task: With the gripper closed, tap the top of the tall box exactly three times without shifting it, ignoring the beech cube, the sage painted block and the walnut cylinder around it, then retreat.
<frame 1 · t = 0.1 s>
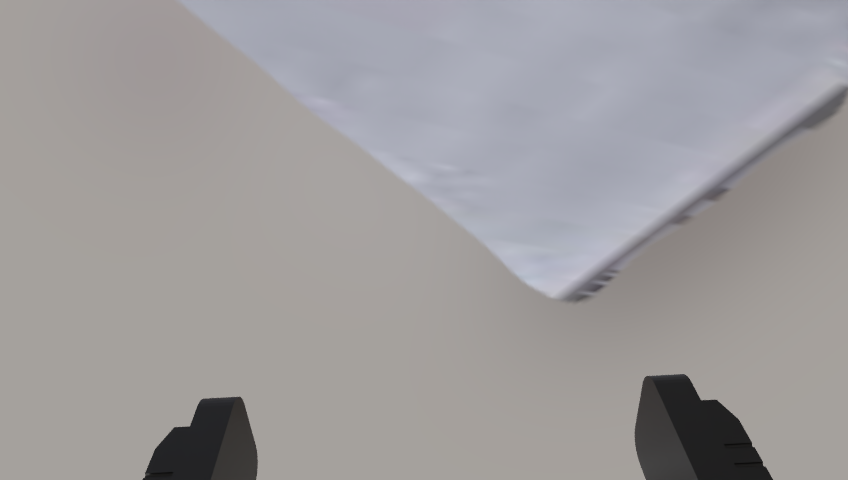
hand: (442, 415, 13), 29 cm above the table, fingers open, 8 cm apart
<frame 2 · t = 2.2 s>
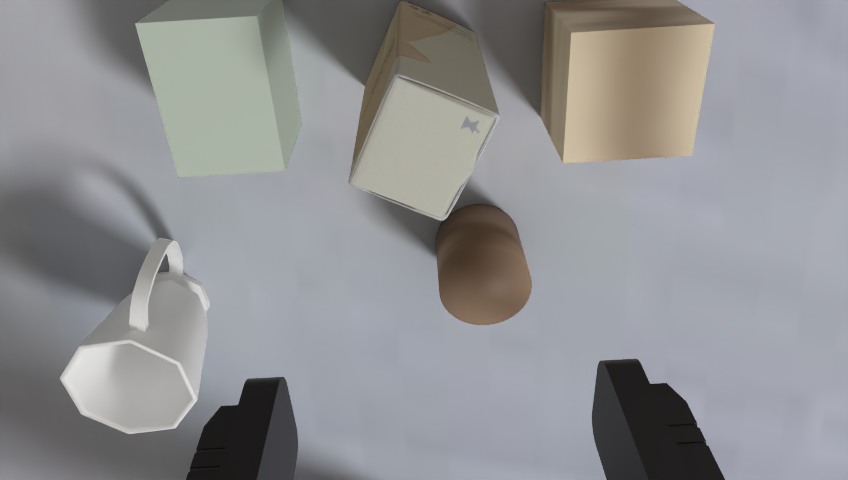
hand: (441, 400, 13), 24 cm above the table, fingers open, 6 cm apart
sage block: (243, 61, 34), on the table
box: (418, 61, 34), on the table
cup: (177, 277, 41), on the table
beech cube: (600, 58, 34), on the table
walnut cylinder: (476, 240, 39), on the table
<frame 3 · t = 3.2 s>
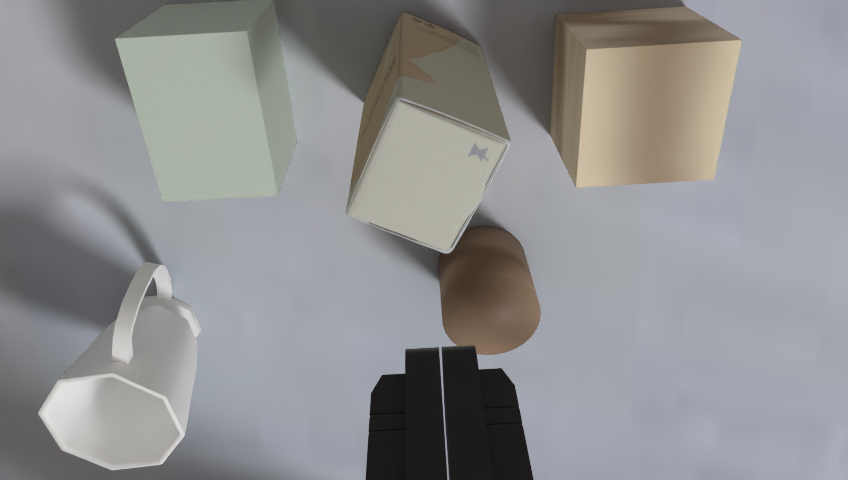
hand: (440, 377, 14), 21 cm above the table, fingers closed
sage block: (235, 76, 31), on the table
box: (421, 77, 32), on the table
cup: (165, 301, 39), on the table
beech cube: (613, 73, 32), on the table
walnut cylinder: (481, 263, 37), on the table
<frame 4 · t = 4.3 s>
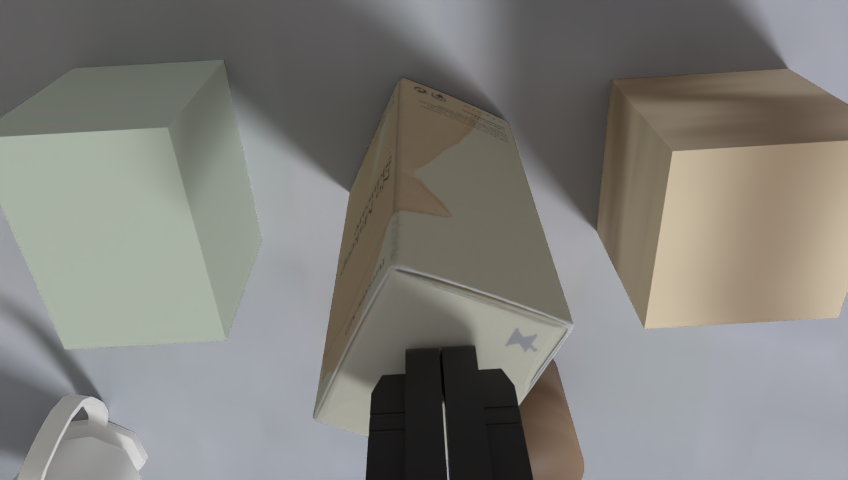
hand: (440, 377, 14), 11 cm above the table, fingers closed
sage block: (175, 160, 23), on the table
box: (426, 159, 24), on the table, touching gripper
cup: (101, 425, 30), on the table
beech cube: (685, 154, 24), on the table
walnut cylinder: (502, 381, 29), on the table
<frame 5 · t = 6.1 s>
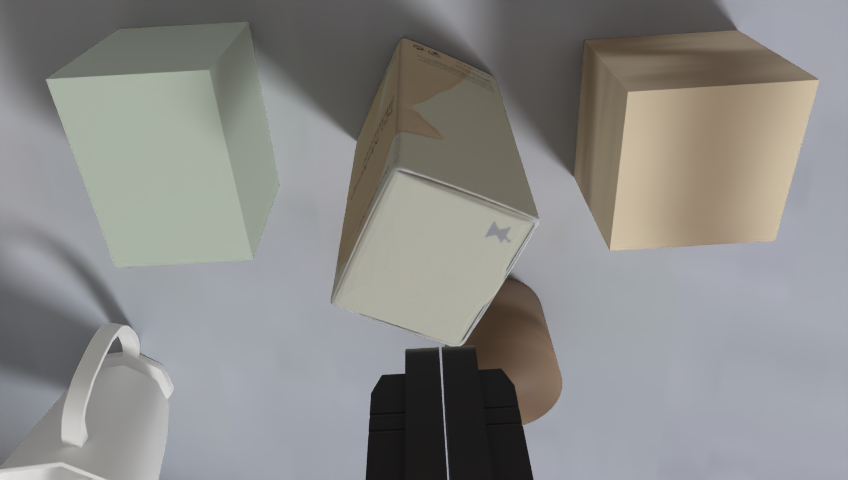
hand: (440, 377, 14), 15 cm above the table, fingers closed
sage block: (205, 111, 27), on the table
box: (424, 111, 27), on the table
cup: (133, 358, 34), on the table
beech cube: (650, 107, 27), on the table
walnut cylinder: (492, 316, 33), on the table
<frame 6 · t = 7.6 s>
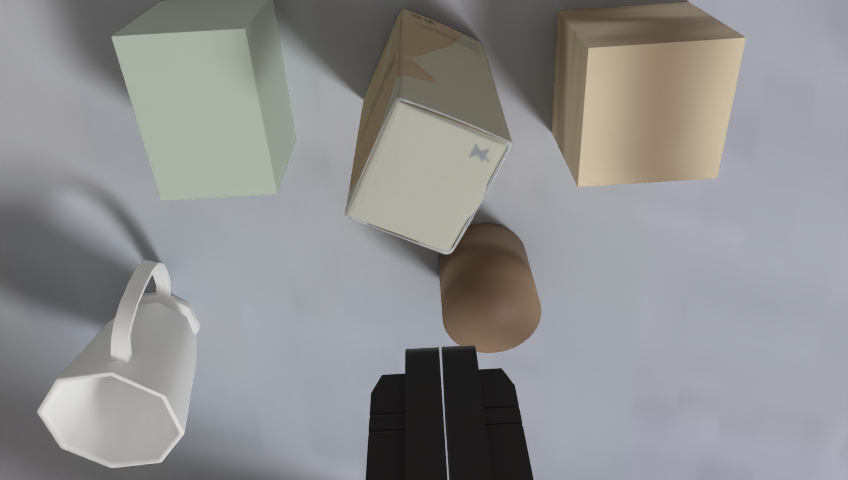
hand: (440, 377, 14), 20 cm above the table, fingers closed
sage block: (233, 73, 31), on the table
box: (421, 73, 31), on the table
cup: (164, 298, 38), on the table
beech cube: (616, 70, 32), on the table
walnut cylinder: (482, 260, 37), on the table
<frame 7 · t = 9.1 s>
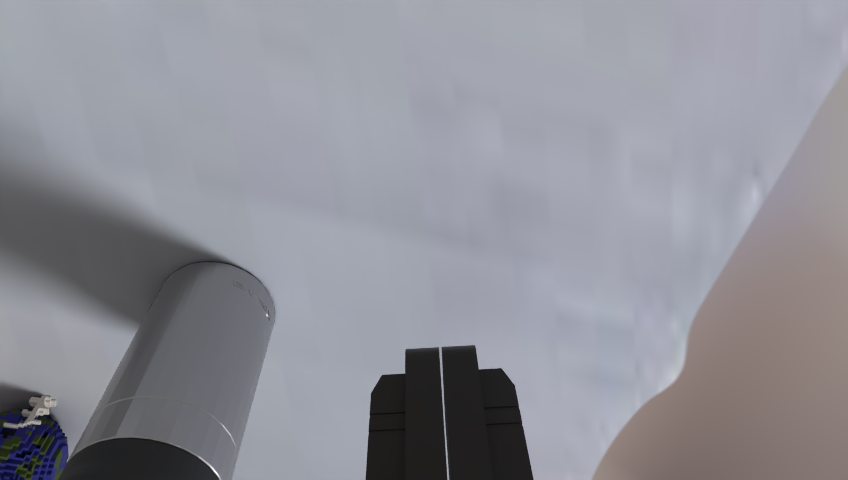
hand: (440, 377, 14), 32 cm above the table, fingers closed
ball: (35, 422, 60), on the table
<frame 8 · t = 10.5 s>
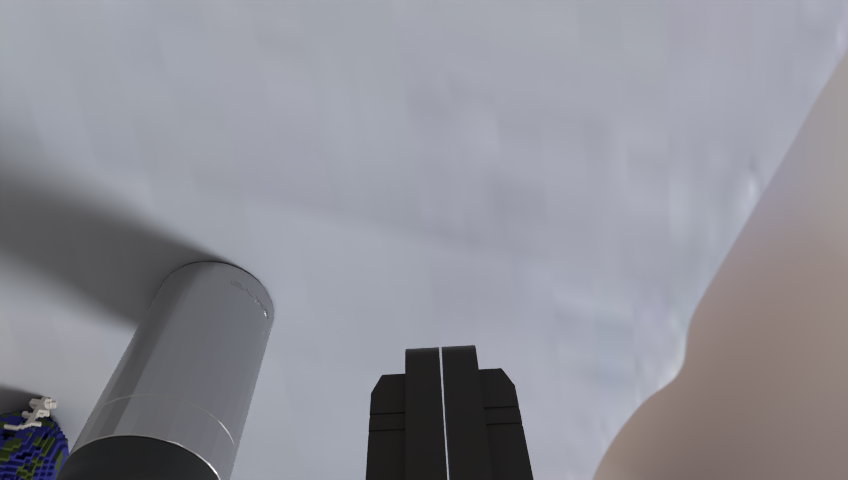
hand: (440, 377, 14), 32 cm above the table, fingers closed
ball: (36, 424, 60), on the table
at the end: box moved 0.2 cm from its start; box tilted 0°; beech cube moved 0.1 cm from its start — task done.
